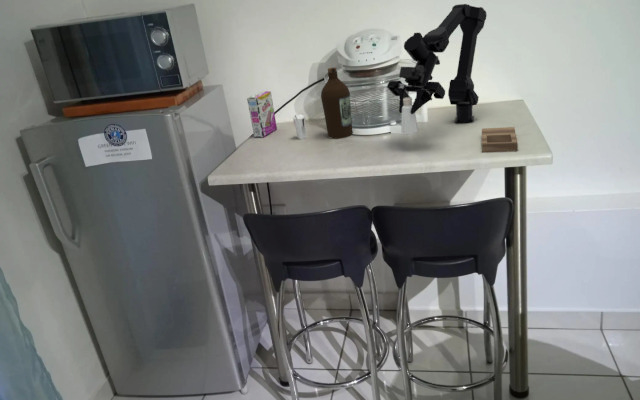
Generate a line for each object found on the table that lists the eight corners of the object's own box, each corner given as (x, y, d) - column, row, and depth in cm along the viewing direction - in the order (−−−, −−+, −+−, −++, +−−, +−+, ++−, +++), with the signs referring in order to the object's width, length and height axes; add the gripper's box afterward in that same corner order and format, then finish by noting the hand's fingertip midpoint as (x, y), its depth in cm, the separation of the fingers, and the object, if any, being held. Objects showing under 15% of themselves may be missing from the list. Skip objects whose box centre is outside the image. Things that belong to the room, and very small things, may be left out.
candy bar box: (264, 137, 197) (256, 97, 190) (254, 137, 199) (246, 98, 192) (278, 129, 206) (271, 90, 199) (268, 129, 208) (260, 91, 201)
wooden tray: (481, 135, 162) (481, 128, 161) (514, 134, 159) (514, 126, 158) (481, 152, 148) (481, 144, 147) (517, 151, 145) (517, 143, 144)
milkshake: (293, 140, 187) (289, 115, 183) (299, 136, 192) (294, 111, 188) (304, 140, 186) (300, 114, 182) (309, 135, 190) (305, 110, 186)
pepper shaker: (400, 130, 160) (397, 97, 155) (417, 128, 159) (414, 94, 155) (402, 135, 155) (399, 101, 150) (419, 133, 154) (417, 98, 150)
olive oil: (321, 138, 185) (311, 71, 175) (336, 129, 193) (328, 65, 183) (344, 140, 179) (336, 71, 169) (359, 131, 187) (352, 64, 176)
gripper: (387, 55, 156) (369, 98, 154) (438, 54, 144) (419, 101, 141) (404, 74, 164) (386, 115, 162) (453, 75, 152) (435, 120, 149)
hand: (405, 112), depth 154 cm, fingers closed on pepper shaker, 4 cm apart
